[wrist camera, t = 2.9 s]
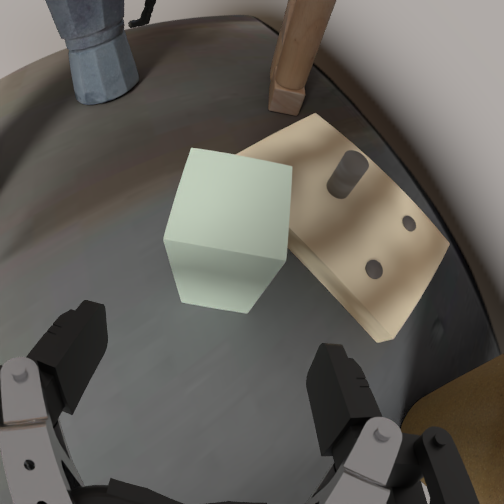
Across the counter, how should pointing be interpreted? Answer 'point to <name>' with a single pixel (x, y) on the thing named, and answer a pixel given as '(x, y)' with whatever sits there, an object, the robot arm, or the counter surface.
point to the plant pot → (470, 424)
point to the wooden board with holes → (354, 225)
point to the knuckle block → (228, 229)
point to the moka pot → (98, 46)
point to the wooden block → (296, 52)
